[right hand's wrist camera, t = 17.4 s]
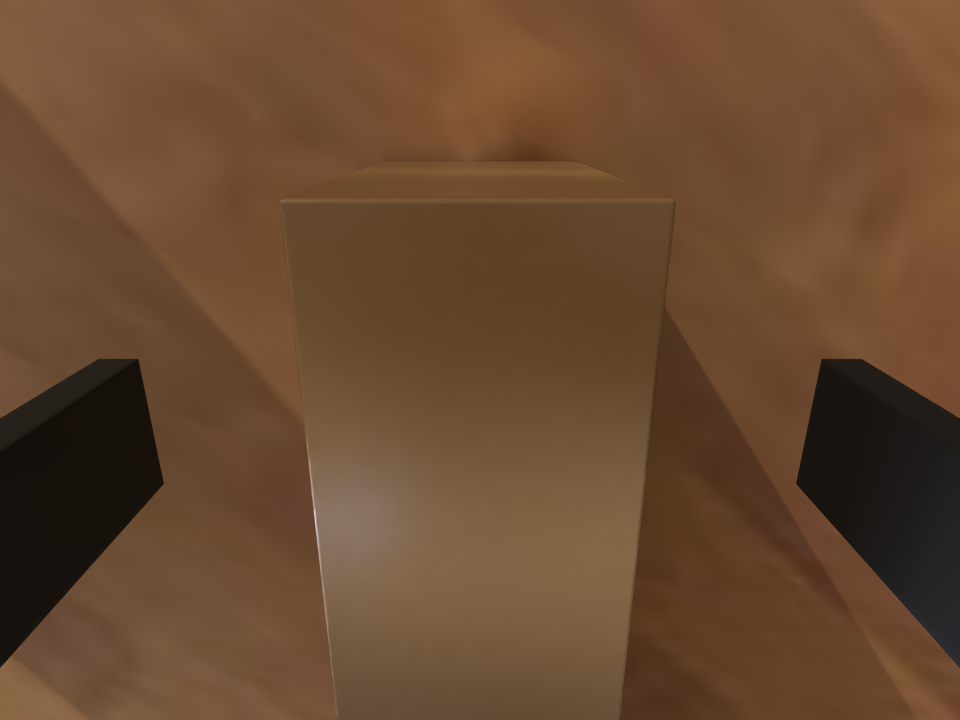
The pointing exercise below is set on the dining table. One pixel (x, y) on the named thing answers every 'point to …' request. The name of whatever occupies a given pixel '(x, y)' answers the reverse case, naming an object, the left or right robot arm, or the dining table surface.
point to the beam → (478, 429)
